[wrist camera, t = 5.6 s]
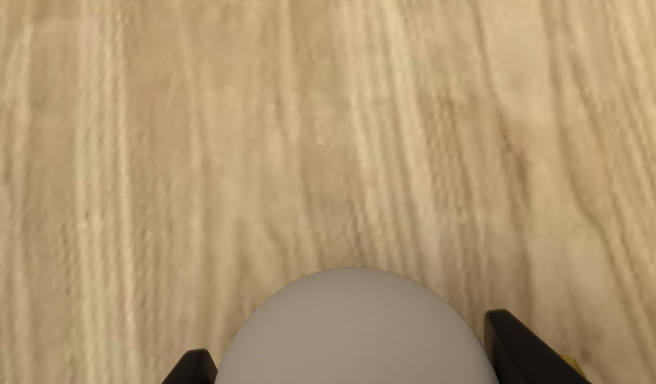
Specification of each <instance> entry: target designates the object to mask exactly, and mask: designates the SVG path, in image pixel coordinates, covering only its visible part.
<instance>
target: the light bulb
mask: <svg viewBox="0 0 656 384" xmlns="http://www.w3.org/2000/svg"><path fill="white" fill-rule="evenodd" d="M215 384H499V381H498V379H497V376H496V373H495V370H494V367H493V365H492V363H491V361H490V359H489V357H488V355H487V353H486V351H485V349H484V347H483V345H482V344H481V342H480V340H479V339H478V338H477V336H476V335H475V334H474V332H473V331H472V329H471V328H470V327H469V325H468V324H467V323H466V321H465V320H464V319H463V318H462V317H461V316H460V315H459V314H458V313H457V312H456V311H455V310H454V309H453V308H452V307H451V306H450V305H449V304H448V303H447V302H446V301H444V300H443V299H442V298H440V297H439V296H438V295H436V294H435V293H434V292H432V291H431V290H429V289H428V288H426V287H424V286H422V285H420V284H418V283H417V282H415V281H413V280H411V279H409V278H406V277H403V276H400V275H397V274H395V273H392V272H388V271H383V270H378V269H373V268H362V267H344V268H336V269H328V270H324V271H320V272H317V273H314V274H310V275H307V276H304V277H302V278H300V279H298V280H296V281H294V282H292V283H290V284H288V285H286V286H284V287H283V288H282V289H280V290H279V291H277V292H276V293H274V294H273V295H272V296H270V297H269V298H267V299H266V300H265V301H264V302H263V303H262V304H261V305H260V306H259V307H258V308H257V309H256V310H255V311H254V312H253V313H252V314H251V315H250V316H249V317H248V319H247V320H246V321H245V323H244V324H243V325H242V326H241V328H240V329H239V330H238V332H237V333H236V335H235V337H234V338H233V340H232V342H231V344H230V346H229V347H228V349H227V351H226V353H225V355H224V357H223V360H222V363H221V365H220V368H219V371H218V373H217V376H216V379H215Z"/></svg>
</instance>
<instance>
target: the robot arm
mask: <svg viewBox="0 0 656 384" xmlns="http://www.w3.org/2000/svg"><path fill="white" fill-rule="evenodd" d="M484 344H485V348H486V351H487V355H488V357H489V359H490V361H491V363H492V365H493V367H494V370H495V373H496V376H497V379H498V381H499V384H592V383H590V382H589V381H588V380H587V379H586V378H585V377H584V376H582V375H581V374H580V373H579V372H578V371H577V370H576V369H574V368H573V367H572V366H571V365H570V364H569V363H567V362H566V361H565V360H564V359H563V358H562V357H561V356H559V355H558V354H557V353H556V352H555V351H554V350H553V349H551V348H550V347H549V346H548V345H547V344H546V343H545V342H543V341H542V340H541V339H540V338H539V337H538V336H537V335H535V334H534V333H533V332H532V331H531V330H530V329H528V328H527V327H526V326H525V325H524V324H523V323H522V322H520V321H519V320H518V319H517V318H516V317H515V316H514V315H512V314H511V313H510V312H509V311H508V310H506V309H496V310H489V311H486V313H485V316H484ZM217 373H218V370H217V368H216V366H215V364H214V362H213V360H212V358H211V355H210V353H209V352H208V350H207V349H204V348H203V349H195V350H189V351H187V352H186V353H185V354H184V355H183V357H182V358H181V359H180V360H179V362H178V363H177V364H176V366H175V367H174V368H173V369H172V371H171V372H170V373H169V375H168V376H167V377H166V378H165V380H164V381H163V382H162V384H215V379H216V376H217Z"/></svg>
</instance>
